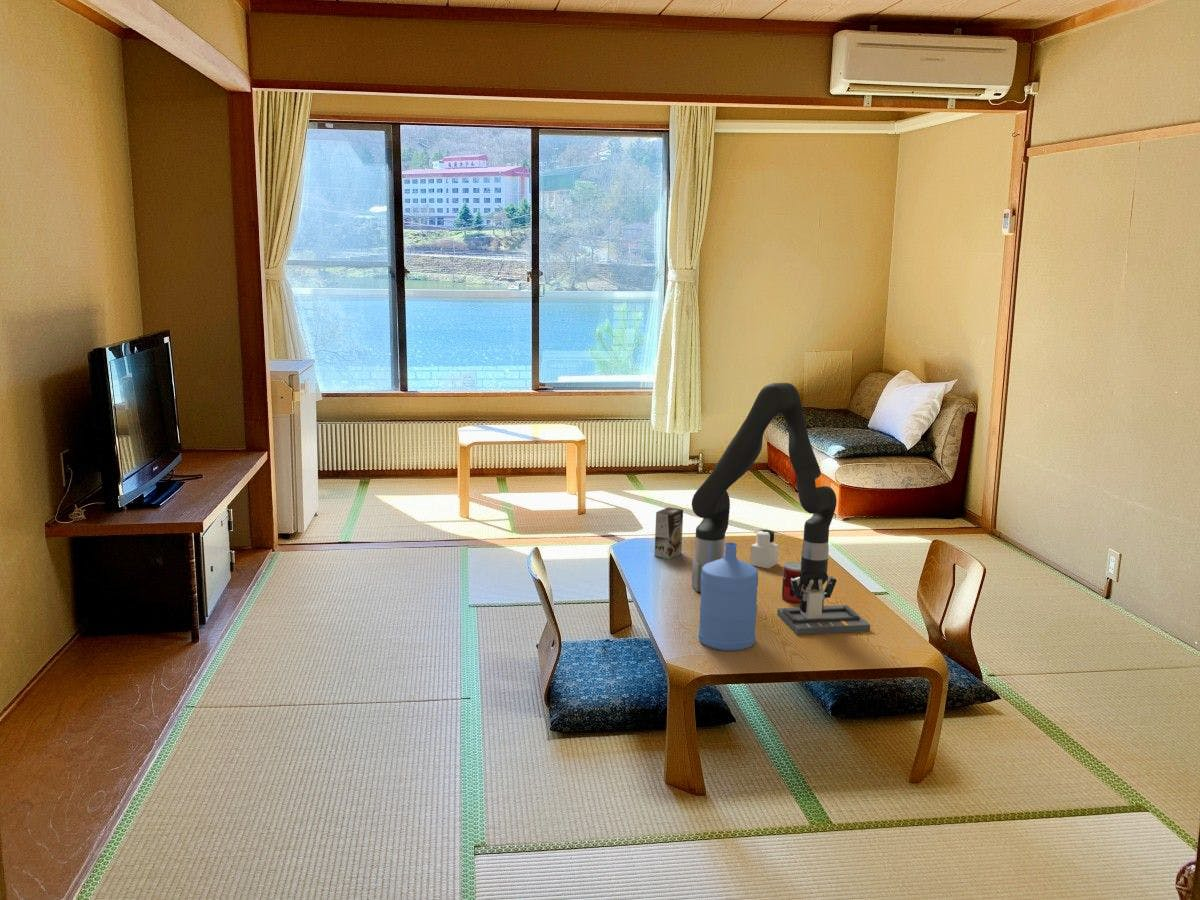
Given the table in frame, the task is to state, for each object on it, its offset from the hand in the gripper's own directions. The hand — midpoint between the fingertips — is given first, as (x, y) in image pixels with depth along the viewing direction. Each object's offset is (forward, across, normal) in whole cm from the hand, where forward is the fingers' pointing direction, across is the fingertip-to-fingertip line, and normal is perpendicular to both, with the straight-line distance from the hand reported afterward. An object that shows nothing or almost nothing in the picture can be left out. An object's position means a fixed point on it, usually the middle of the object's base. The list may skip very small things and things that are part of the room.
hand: (811, 611), depth 293 cm
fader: (+1, 0, 0) cm, 1 cm away
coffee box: (+4, -25, +69) cm, 74 cm away
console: (+4, +4, 0) cm, 5 cm away
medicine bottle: (+4, +5, +54) cm, 54 cm away
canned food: (+4, +3, +20) cm, 21 cm away
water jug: (+4, -28, -9) cm, 30 cm away
